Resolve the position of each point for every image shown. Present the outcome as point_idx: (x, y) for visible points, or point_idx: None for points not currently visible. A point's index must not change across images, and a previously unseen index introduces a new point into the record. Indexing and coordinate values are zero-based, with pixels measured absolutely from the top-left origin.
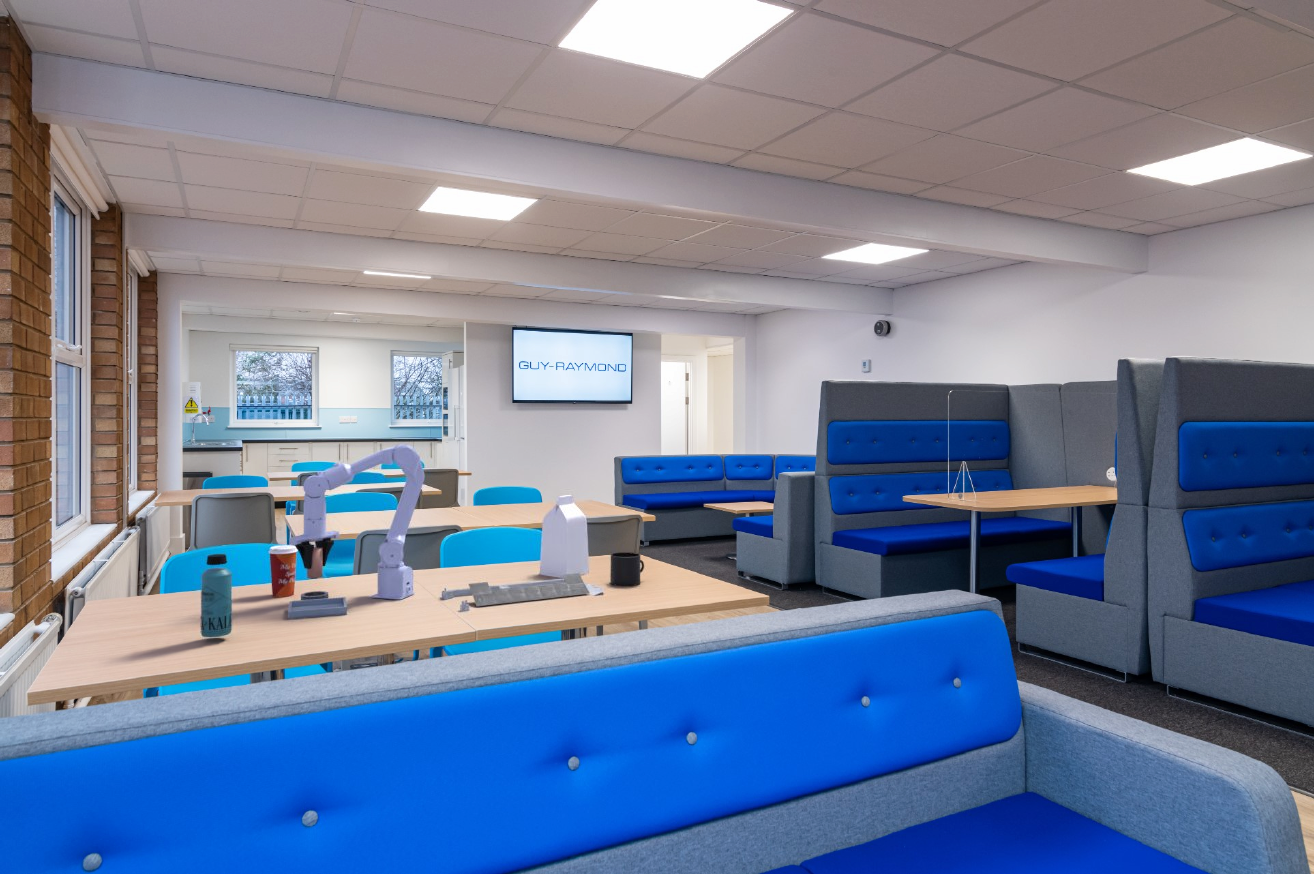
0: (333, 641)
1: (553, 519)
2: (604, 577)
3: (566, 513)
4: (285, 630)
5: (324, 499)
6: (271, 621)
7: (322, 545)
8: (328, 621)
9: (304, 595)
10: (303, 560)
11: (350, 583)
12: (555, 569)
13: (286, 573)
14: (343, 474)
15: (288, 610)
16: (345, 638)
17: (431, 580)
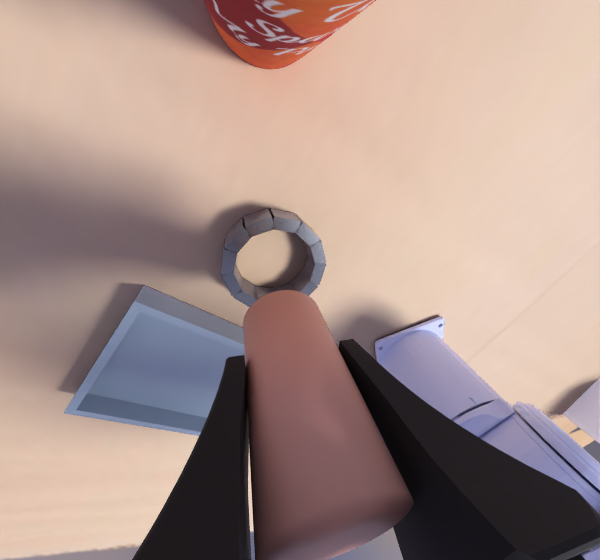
0: (98, 526)
1: None
2: (564, 429)
3: None
4: (31, 459)
5: None
6: (16, 382)
7: (423, 544)
8: (162, 443)
9: (233, 261)
10: (217, 412)
11: (554, 108)
12: (591, 410)
13: (253, 22)
14: None
15: (70, 404)
16: (126, 520)
17: (573, 291)
